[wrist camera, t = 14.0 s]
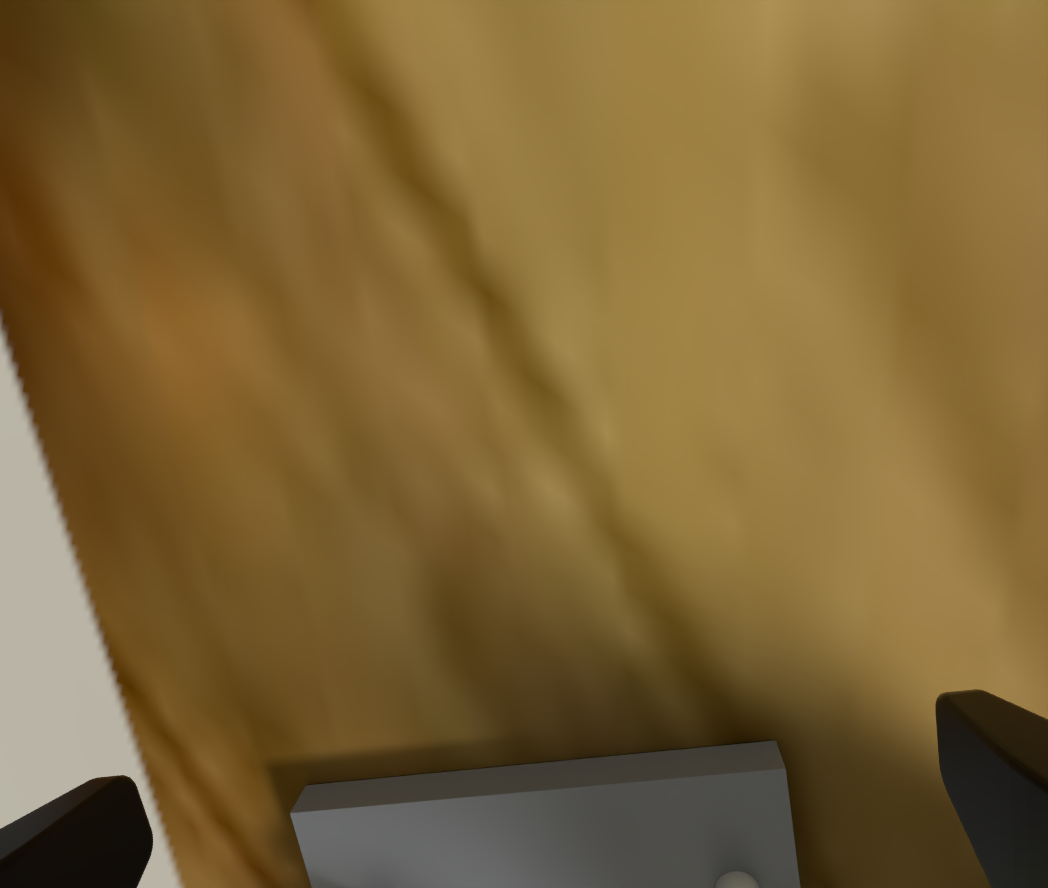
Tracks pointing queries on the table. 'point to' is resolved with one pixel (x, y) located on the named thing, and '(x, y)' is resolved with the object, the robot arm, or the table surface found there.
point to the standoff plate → (560, 824)
